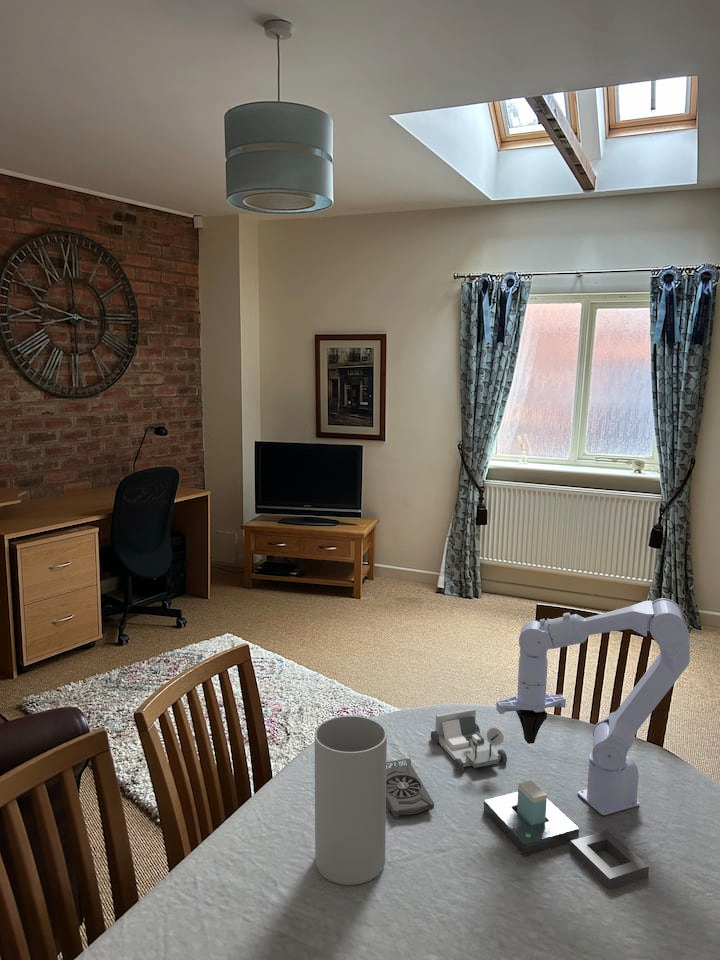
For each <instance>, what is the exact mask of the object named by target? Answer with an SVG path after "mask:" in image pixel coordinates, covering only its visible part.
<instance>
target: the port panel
mask: <svg viewBox="0 0 720 960" xmlns="http://www.w3.org/2000/svg"><path fill="white" fill-rule="evenodd" d="M517 803H518V791H516V792H515V791H514V792H512V793H507V794H504V795H499V796H495V797H490V798H486V799H483V813H484V814H485V815H486V816H487V817H488V818H489V819H490V820H491V822H492V823H493V824H494V825H495V826H496V827H497V828H498V829H499V830H500V831H501V832H502V834H504V836H506V837H505V838H507V839H508V841H510V842H511V844H513V846H514V847H515V848H516V849H517V850H518V851H519V852H520V853H521V855H522V856H524V857H527V856H530V855H533V854H536V853H540V852H543V851H547V850H551V849H554V848H557V847H560V846H564V845H568V844H570V842H571V840H575V839H578V838H580V835H579V834H580V828H579V826H577V824H575V823H574V822H573V821H572V820H571V819H570V818H569V817H567V816H566V814H564V813H563V812H562V811H561V810H560V809H559V808H558V807H557V806H555V805H554V803H552V801H550V799H548V798H547V805H546V822H545V823H542V824H538V825H534V826H531V827H530V826H529V825H528V824H527V823H526V822H525V821H524V820H523V819H522V818H521V817H520V816H519V815H518V814H517Z"/></svg>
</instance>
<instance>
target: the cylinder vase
mask: <svg viewBox="0 0 720 960" xmlns="http://www.w3.org/2000/svg"><path fill="white" fill-rule="evenodd" d="M387 735H388V733H387V729H386V728H385V727H384V725H383V724H381V723H380V722H379V721H377V720H375V719H373V718H370V717H366V716H361V715H340V716H335V717H332V718H328V719H327V720H324V721H323V722H321V723H320V724H319V725H318V726H317V727H316V729H315V730H314V848H315V849H314V854H315V855H314V859H315V860H314V861H315V867H316V868H317V870H318V872H319V873H320V874H321V875H322V876H323V877H324V878H325V879H327V880H329V881H330V882H333V883H335V884H338V885H344V886H357V885H361V884H366V883H368V882H370V881H372V880H374V879H375V878H377V876H378V875H380V873H381V872H382V871H383V869H384V867H385V863H386V838H387V836H386V833H387V832H386V827H387V825H386V823H387V822H386V821H387V817H386V815H387V814H386V812H387V805H386V769H387V765H386V762H387V759H388V758H387V754H388V753H387V749H388V748H387V746H388V744H387V743H388V740H387V739H388V736H387Z"/></svg>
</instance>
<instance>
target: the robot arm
mask: <svg viewBox="0 0 720 960" xmlns="http://www.w3.org/2000/svg"><path fill="white" fill-rule="evenodd" d="M623 630H624V631H625V630H633V632H636V633H638V634H639V635H641V636H643V637H646V638H647V636H648V632H649V633H650V634H651V635H650V636H651V637H652V638H653V640H654V641H655V643H657V645H658V648H659V651H660V653H659V654H658V656H656V657H655V659H654V661H653V662H652V664H651V665H649V667H648V668H647V670H646V672H645V673H644V674H643V675H642V676H641V678H640V679H639V681H638V682H637V683H636V684H635V686H634V687H633V689H632V690H631V691H630V692H629V694H628V695H627V697H626V698H625V699H624V700H623V702H622V703H621V704H620V705H619V707H618V708H617V709H616V711H612V712H610V713H609V714H608V715H607V717H605V719H602V720H599V721H598V722H596V724H595V725H594V726H593V728H592V737H593V739H592V740H593V745H592V746H593V748H592V750H591V752H590V753H589V755H588V756H589V757H588V772H587V774H588V775H587V788H586V789H581V790H578V791H577V796H579V797H580V798H582V799H583V801H585V802H586V803H587V804H588V805H590V807H592V808H593V809H594V810H595V811H596V812H598V814H600V815H602V816H606V815H609V814H610V815H611V814H614V813H617V812H621V811H624V810H629V809H632V808H635V807H639V806H640V802H639V801H638V792H639V791H638V790H639V789H638V787H639V777H640V776H639V774H640V773H639V770H638V766H637V764H636V762H635V761H634V759H633V758H632V757H631V756H630V755H627V754H628V752H629V750H630V749H631V748H632V746H633V742H634V741H635V737H636V734H637V732H638V730H639V729H640V728H641V727H642V726H643V725H644V723H645V722H646V720H647V719H648V718H649V716H650V715H651V714H652V712H653V711H654V710H655V709H656V707H657V706H658V705H659V704H660V702H661V701H662V699H663V698H664V697H665V696H666V695H667V693H668V692H669V691H670V690H671V688H672V687H673V686H674V685H675V683H676V681H677V680H678V679H679V678H680V677H681V676H682V674H683V673H684V671H685V670H686V669H687V667H688V666H689V664H690V662H691V659H690V658H691V656H690V655H691V654H690V652H691V651H690V649H691V647H690V639H691V635H690V632H689V630H688V627H687V622H686V618H685V617H684V614H683V612H682V610H681V608H680V606H679V604H678V603H677V602H676V601H674V600H672V599H670V598H665V597H663V598H657V599H655V600H653V601H652V600H643V601H641V602H639V603H635V604H633V605H628V606H626V607H622V608H618V609H614V610H611V611H606V612H603V613H598V614H597V615H591V616H587V617H583V616H581V615H579V614H577V613H575V614H571V612H564V613H563V614H562V616H559V617H557V618H551V619H548V620H546V619H545V618H541V619H539V620H530V621H527V622H526V623H525V624H524V625H523V626H522V627H521V630H520V634H519V638H518V646H519V648H520V649H519V657H518V673H517V694H516V695H514V696H511V697H508V698H504V699H501V700H496V705H495V706H496V711H497V712H498V713H499V715H503V714H505V713H507V712H515V711H516V713H517V716H518V719H519V721H520V724H521V728H522V731H523V739H524V740H525V741H526V743H527V744H529V745H530V744H535V743H536V739H537V736H538V734H539V730H540V728H541V727H542V725H543V724H544V722H545V721H546V720H547V719H548V718H547V717H548V712H547V711H546V710H545V709H547V708H554V707H555V708H556V707H560V708H561V709H562V708H566V705H567V704H566V702H567V701H566V700H567V699H566V698H565V696H564V695H563V694H547V684H548V683H547V680H548V658H547V657H548V651H549V650H554V649H559V648H564V647H570V646H574V645H578V644H584V643H585V642H586V641H587V639H588V637H590V636H591V635H598V634H605V633H610V632H611V633H612V632H617V631H623Z"/></svg>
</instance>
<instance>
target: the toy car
mask: <svg viewBox="0 0 720 960" xmlns="http://www.w3.org/2000/svg"><path fill="white" fill-rule="evenodd" d="M476 715H477V714H476V709H475V708H474V707H470V708H466V709H461V710H454V711H449V712H444V713H438V714H435V730H433V731H431V732H430V740H431V741H432V743H433V744H434V745H438V744H440V745H441V747H442V748H443V749H444V750H445V751H446V752H447V754H448V755H449V756H450V757H451V758H452V759H453V761H454V768H455V770H456V771H457V772H458V773H459V774H462V773H463V772H464V768H465V767H469V766H472V767H473V768H474V769H476V768H480V767H486V766H491V765H495V764H500V763H501V764H502V765H505V764H506V763H507V762H508V758H507V756H508V755H507V753H506V751H505V750H504V749H498V750H497V749H496V748H494V747H500V746H502V744H503V743H504V740H505V739H504V734H503V732H502V730H500V728H499V729H498V728H496V727H490V728H489V729H488V730H487V732H486V738H485V737H483V735H481V730H480V727H479V725H478V723H476ZM499 760H500V761H501V762H500V761H499Z"/></svg>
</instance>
